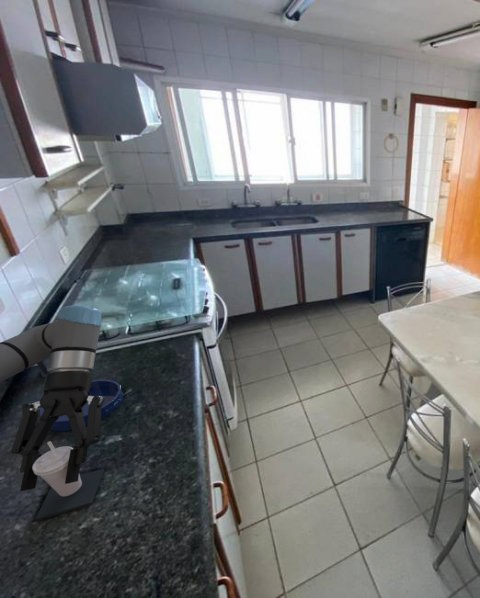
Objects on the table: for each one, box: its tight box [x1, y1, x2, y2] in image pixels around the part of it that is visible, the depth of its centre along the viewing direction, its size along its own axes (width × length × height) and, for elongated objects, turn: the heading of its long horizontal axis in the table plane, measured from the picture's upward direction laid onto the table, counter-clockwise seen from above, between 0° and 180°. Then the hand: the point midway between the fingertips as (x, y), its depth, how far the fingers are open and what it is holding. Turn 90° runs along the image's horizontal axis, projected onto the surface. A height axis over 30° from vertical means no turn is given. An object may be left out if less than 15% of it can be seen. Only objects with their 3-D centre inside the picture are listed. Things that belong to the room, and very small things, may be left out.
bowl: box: [39, 379, 124, 432], centre depth 95 cm, size 17×17×4 cm
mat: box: [35, 468, 105, 522], centre depth 73 cm, size 9×9×1 cm
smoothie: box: [32, 440, 82, 496], centre depth 70 cm, size 6×6×14 cm
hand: (50, 485), depth 67 cm, fingers closed on smoothie, 6 cm apart
